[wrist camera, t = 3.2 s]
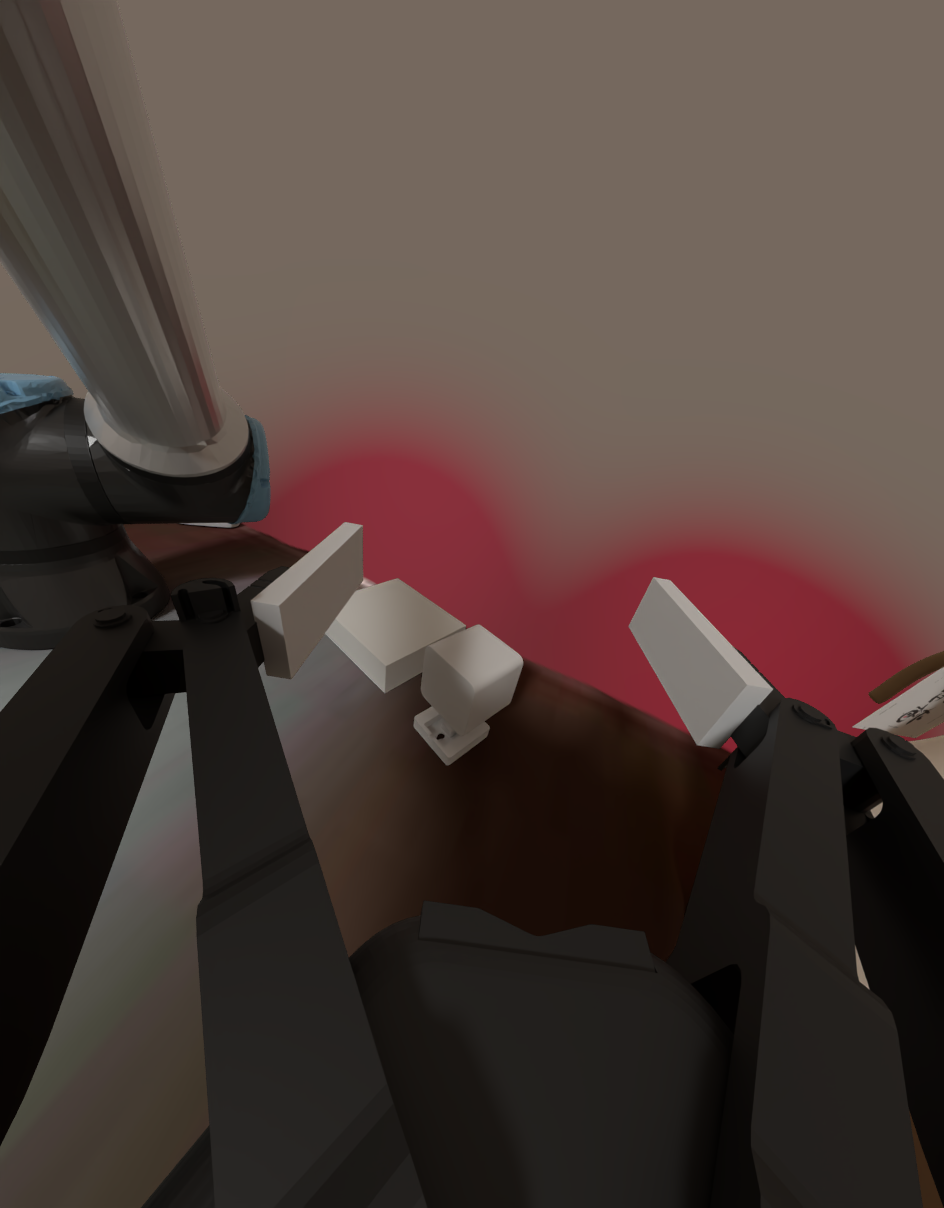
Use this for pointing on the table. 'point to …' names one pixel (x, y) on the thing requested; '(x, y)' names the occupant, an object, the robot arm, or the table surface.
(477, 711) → the security camera
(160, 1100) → the table surface
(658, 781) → the table surface
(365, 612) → the plinth
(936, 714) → the water bottle
